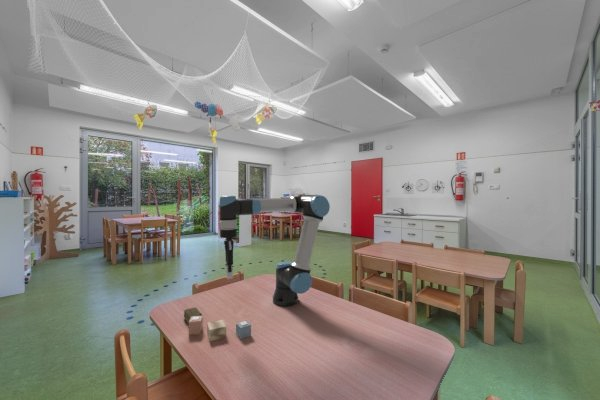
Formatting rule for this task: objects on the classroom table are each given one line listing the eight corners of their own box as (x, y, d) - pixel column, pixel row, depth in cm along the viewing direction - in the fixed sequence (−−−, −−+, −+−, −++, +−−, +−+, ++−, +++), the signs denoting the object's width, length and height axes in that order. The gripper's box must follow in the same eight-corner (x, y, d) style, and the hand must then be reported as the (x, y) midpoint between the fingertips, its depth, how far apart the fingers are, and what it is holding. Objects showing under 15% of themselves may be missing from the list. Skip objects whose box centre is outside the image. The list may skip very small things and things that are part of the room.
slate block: (246, 330, 117) (246, 319, 117) (250, 335, 113) (251, 323, 113) (235, 334, 114) (236, 322, 114) (240, 339, 110) (240, 327, 110)
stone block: (190, 328, 119) (190, 317, 119) (183, 318, 128) (183, 309, 128) (203, 324, 123) (203, 313, 123) (195, 315, 131) (195, 305, 131)
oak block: (223, 330, 118) (223, 319, 118) (226, 337, 111) (226, 326, 111) (207, 333, 114) (207, 322, 114) (209, 341, 108) (209, 330, 108)
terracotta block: (202, 328, 119) (202, 315, 119) (200, 334, 114) (200, 320, 114) (191, 329, 118) (191, 315, 118) (188, 335, 113) (188, 321, 113)
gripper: (219, 227, 123) (220, 275, 124) (221, 231, 111) (222, 284, 112) (234, 226, 126) (235, 273, 127) (238, 230, 114) (239, 281, 115)
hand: (229, 278), depth 120 cm, fingers closed
